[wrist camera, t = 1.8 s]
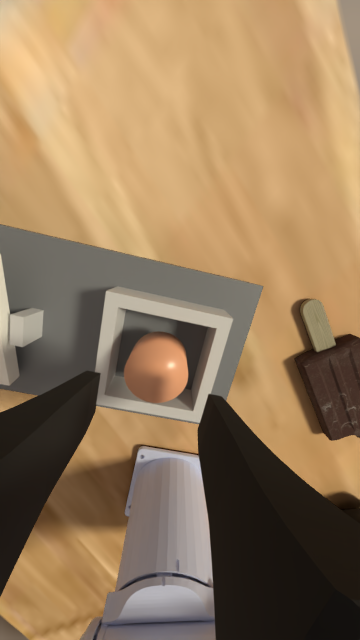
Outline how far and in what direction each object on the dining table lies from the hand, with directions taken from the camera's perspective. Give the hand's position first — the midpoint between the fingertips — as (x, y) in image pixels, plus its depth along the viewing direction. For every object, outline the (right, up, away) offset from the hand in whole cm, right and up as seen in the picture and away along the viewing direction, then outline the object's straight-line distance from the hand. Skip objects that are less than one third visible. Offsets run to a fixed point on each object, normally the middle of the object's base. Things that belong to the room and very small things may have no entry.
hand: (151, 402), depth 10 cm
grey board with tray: (-6, +4, +9) cm, 11 cm away
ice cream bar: (+15, -1, +11) cm, 19 cm away
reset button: (0, +1, +5) cm, 5 cm away
